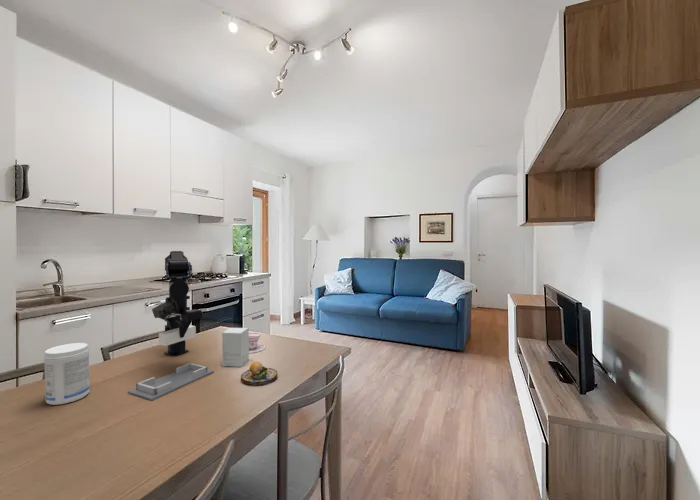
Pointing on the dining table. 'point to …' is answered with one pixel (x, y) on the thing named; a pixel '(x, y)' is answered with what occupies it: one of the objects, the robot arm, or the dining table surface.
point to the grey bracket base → (170, 381)
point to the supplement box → (235, 347)
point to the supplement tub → (66, 373)
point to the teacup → (255, 342)
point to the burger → (258, 375)
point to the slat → (176, 336)
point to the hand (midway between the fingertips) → (178, 336)
